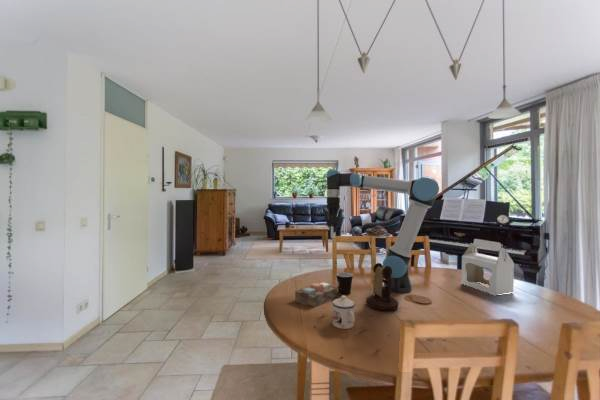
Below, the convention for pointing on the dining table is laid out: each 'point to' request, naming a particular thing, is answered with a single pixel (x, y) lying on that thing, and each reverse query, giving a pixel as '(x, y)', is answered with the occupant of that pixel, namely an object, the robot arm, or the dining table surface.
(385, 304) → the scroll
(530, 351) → the dining table surface
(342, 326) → the teacup with lid
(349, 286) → the coffee mug
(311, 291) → the grey key
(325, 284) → the cream key
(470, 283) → the gable box
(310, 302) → the key box
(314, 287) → the terracotta key
